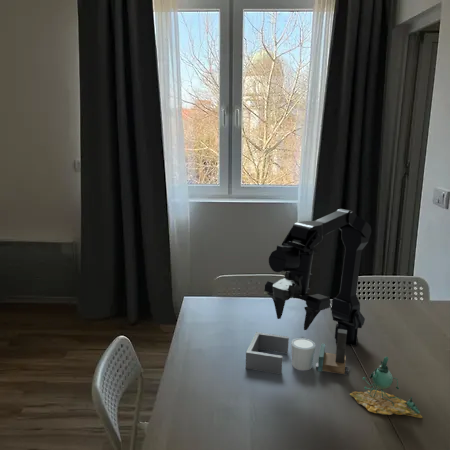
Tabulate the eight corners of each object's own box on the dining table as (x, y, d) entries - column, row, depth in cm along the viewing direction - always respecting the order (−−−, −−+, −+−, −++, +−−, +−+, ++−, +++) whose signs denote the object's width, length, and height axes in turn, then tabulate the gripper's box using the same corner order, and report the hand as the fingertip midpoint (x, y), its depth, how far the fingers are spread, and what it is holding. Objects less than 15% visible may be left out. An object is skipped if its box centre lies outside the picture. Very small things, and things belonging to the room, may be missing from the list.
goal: (288, 351, 142) (288, 336, 141) (281, 374, 130) (281, 358, 129) (255, 346, 145) (256, 331, 144) (245, 368, 132) (246, 352, 131)
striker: (345, 360, 135) (348, 326, 132) (344, 375, 127) (347, 338, 125) (320, 357, 137) (322, 322, 134) (317, 370, 129) (320, 334, 127)
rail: (348, 370, 132) (348, 367, 132) (348, 374, 130) (348, 371, 130) (316, 365, 135) (316, 362, 135) (315, 369, 133) (315, 366, 132)
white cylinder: (313, 373, 131) (315, 350, 129) (289, 369, 132) (290, 347, 130) (314, 360, 137) (315, 339, 136) (290, 358, 139) (292, 336, 137)
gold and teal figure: (412, 433, 107) (412, 373, 104) (341, 408, 119) (339, 354, 116) (427, 414, 114) (427, 357, 111) (358, 392, 126) (357, 340, 123)
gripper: (254, 263, 127) (247, 317, 129) (311, 281, 114) (301, 341, 116) (280, 260, 135) (273, 312, 137) (335, 277, 122) (326, 333, 124)
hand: (291, 324), depth 128 cm, fingers open, 9 cm apart
